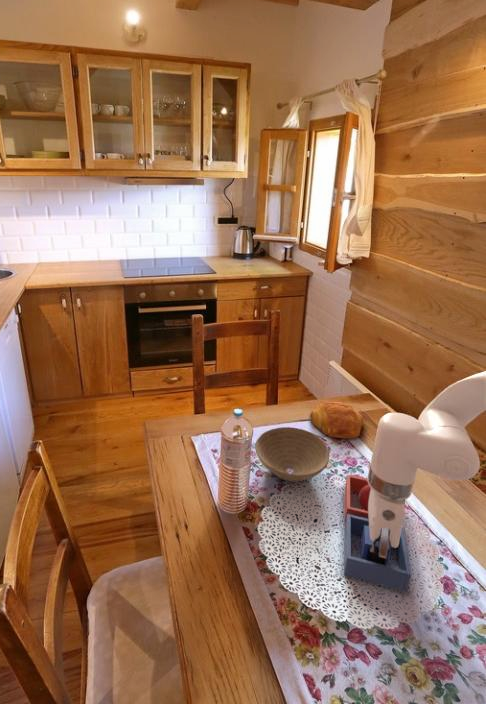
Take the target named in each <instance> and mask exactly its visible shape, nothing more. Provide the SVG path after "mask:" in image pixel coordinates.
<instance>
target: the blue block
mask: <svg viewBox="0 0 486 704" xmlns="http://www.w3.org/2000/svg"><path fill="white" fill-rule="evenodd" d="M371 541H372V540H371V539H370V532H369V526H365V525H364V529H363V534H362V536H361V540H360V555H361V558H360V559H364V560H366V557H367V552H368V548H369V547H371ZM375 546H377V547H379V542H378V541H376V543H375ZM390 553H391V544H390V542H389V544H388V550H387V558H386V560H385V564H384V565H386V566H388V561H389V558H390Z"/></svg>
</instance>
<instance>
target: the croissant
mask: <svg viewBox="0 0 486 704" xmlns="http://www.w3.org/2000/svg"><path fill="white" fill-rule="evenodd" d="M309 415H310V418H311V423H312V425H314V428H317V429H318V430H321V431H322V433H324V435H325V436H327V437H330V438H335V439H355V438H357V437H359V436H361V435H360V434H361V430H362V427H363V424H364V418H363V415H362V414H361V413H360V412H359V411H358V410H357V409H355V408H354V407H353V406H352V405H351V404H348V403H344V402H340V401H334V402H333V401H327V402H321V403H318V405H316V406H315V407H314V408H313V410H311V412H310V414H309Z"/></svg>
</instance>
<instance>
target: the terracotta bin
mask: <svg viewBox="0 0 486 704" xmlns="http://www.w3.org/2000/svg"><path fill="white" fill-rule="evenodd" d="M367 485H368V482H367V478H365V477H360V476H356V475H351V474H346V479H345V484H344V510H343V511H344V513H343V515H344V517H343V518H344V521H343V523H344V524H345V523H346V517H347V514H350V515H354V516H358V517H362V518H366V519H369V517H368V511H365V510H364V509H361V508H356V507H353V506H351V493H354V494H358V495H359V493H360V491H361V489H362V488H363V487H365V486H367Z"/></svg>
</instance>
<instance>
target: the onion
mask: <svg viewBox="0 0 486 704" xmlns="http://www.w3.org/2000/svg"><path fill="white" fill-rule="evenodd" d="M370 490H371V488H370V486H369V485H367V486H365V487H363V488H362V489H361V491H360V493H359V494H358V502H359V505H360V507H361V508H362V510H365V511H368V502H369V495H370Z"/></svg>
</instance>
